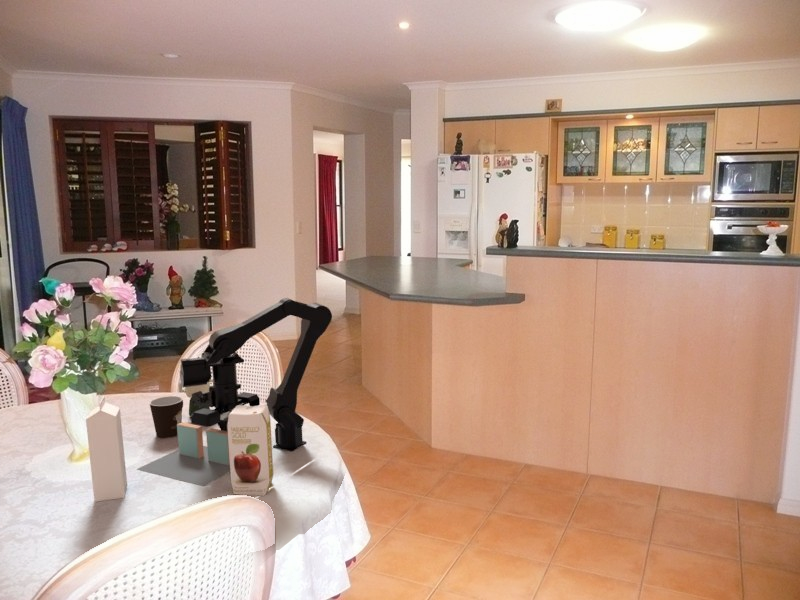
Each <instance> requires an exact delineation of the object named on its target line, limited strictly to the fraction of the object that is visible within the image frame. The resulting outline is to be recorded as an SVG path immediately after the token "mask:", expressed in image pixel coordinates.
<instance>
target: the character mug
mask: <svg viewBox="0 0 800 600" xmlns="http://www.w3.org/2000/svg"><path fill="white" fill-rule="evenodd" d="M211 383H213V378H211V380H209V382H207V384H205V385H198V386H191V387H184V388H182V385H181V381H180V382H178V392H179V393H180V394H181V393H185V395H186V397H187V398H189V403H188V416H189V417H191V415H192V414H193V412H195V411H198V410H200V409H203V408H206V409H211V407H209V404H208V405H205V406H202V407H201V408H199V406H198V405H197V406H194V405H193V403H192V394H193V393H196V392H199V391H201V392H202V393H206V392H208V391H209V388H210V386H211Z"/></svg>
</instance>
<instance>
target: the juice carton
mask: <svg viewBox="0 0 800 600" xmlns="http://www.w3.org/2000/svg"><path fill="white" fill-rule="evenodd" d="M227 427H228V443H229V458H230V472H229V473H230V483H231V488H232V492H233V494H243V495H242V496H246V495H247V496H250V495H252V496H257V497H264V496H266V495H267V492H268V490H269V489H270V486H271V484H272V482H273V478H274V459H273V458H274V457H273V440H272V438H273V437H272V423H271V415H270V414H269V410H268V406H267V404H260V405H258V406H250V405H246V404H245V405H237V406H236V407H235V408H234V409H233V410H232V412H231V413H230V414H229V418H228V425H227Z"/></svg>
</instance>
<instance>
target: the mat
mask: <svg viewBox="0 0 800 600" xmlns="http://www.w3.org/2000/svg"><path fill="white" fill-rule="evenodd" d="M203 450H204V457H202V458H200V459H199V458H194V457H190V456H185V455H181V454H179V448H178V449H177V450H174V451H173V452H170V453H168V454H166V455H164V456H162V457H159V458H157V459H155V460H153V461H151V462H149V463H146V464H144V465H142V466H140V467H138V468H136V471H142V472H144V473H149V474H153V475H157V476H161V477H165V478H168V479H172V480H176V481H177V480H178V481H181V482H184V483H188V484H192V485H197V486H201V487H206V486H207V485H210V484H211V483H213V482H214V481H216V480H218V479H220V478H222V477H223V476H225V475H227V474H229V473H230V466H229V465H225V464H221V463H216V462H212V461H208V450H207V445H203Z"/></svg>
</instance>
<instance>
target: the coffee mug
mask: <svg viewBox="0 0 800 600" xmlns="http://www.w3.org/2000/svg"><path fill="white" fill-rule="evenodd" d="M183 407H184V400H183V397H181V396H177V395H171V396H170V395H169V396H161V397H157V398H154V399H152V400H151V401H149V408H150V411H151V417H152V422H153V425H154V430H155V435H156V438H159V439H171V438H174V437H178V434H177V424H179V423H181V422H182V417H183ZM182 423H183V422H182Z"/></svg>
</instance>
